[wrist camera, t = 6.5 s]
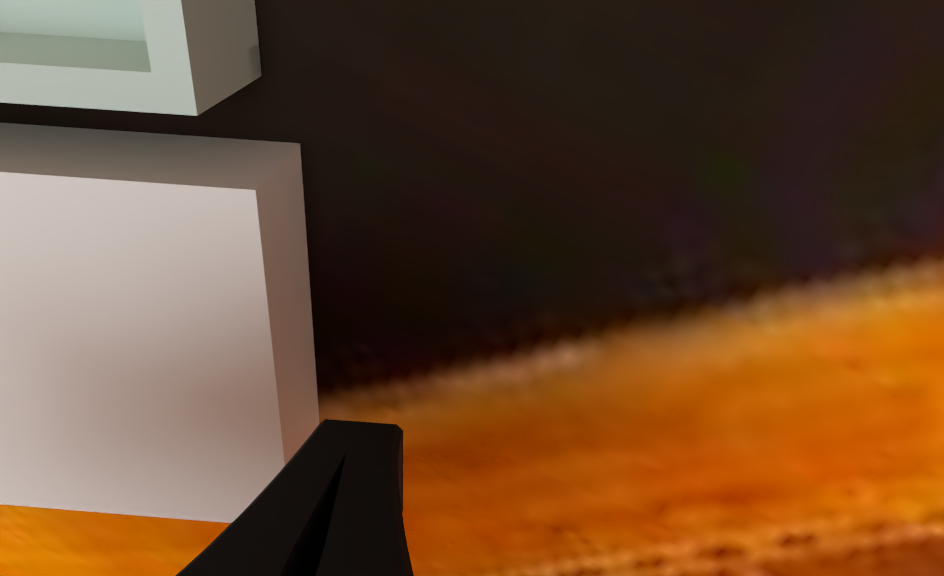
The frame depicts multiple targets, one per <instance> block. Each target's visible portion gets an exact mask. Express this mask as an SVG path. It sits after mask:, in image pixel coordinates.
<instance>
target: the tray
mask: <svg viewBox="0 0 944 576" xmlns="http://www.w3.org/2000/svg"><path fill="white" fill-rule="evenodd" d="M261 76H262V74H261V63H260V53H259V42H258V31H257V21H256V10H255V0H0V102H2V103H17V104H31V105H46V106H61V107H76V108H91V109H105V110H120V111H135V112H150V113H164V114H179V115H194V116H198V115H199V114H201V113H203V112H204V111H206V110H207V109H209V108H211V107H212V106H214V105H216V104H217V103H219V102H220V101H222V100H224V99H225V98H227V97H228V96H230V95H232V94H233V93H235V92H236V91H238V90H240V89H241V88H243V87H245V86H246V85H248V84H249V83H251V82H253V81H254V80H256V79H257V78H259V77H261Z"/></svg>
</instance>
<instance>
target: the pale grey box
mask: <svg viewBox="0 0 944 576" xmlns="http://www.w3.org/2000/svg"><path fill="white" fill-rule="evenodd" d="M318 425H319V409H318V395H317V380H316V366H315V352H314V337H313V323H312V309H311V294H310V280H309V266H308V251H307V237H306V223H305V208H304V194H303V180H302V165H301V151H300V143H287V142H273V141H259V140H244V139H230V138H215V137H201V136H186V135H172V134H157V133H143V132H128V131H114V130H100V129H85V128H71V127H56V126H42V125H27V124H13V123H0V504H5V505H17V506H29V507H41V508H53V509H65V510H78V511H90V512H102V513H114V514H126V515H138V516H151V517H163V518H175V519H187V520H199V521H211V522H224V523H232V522H233V521H234V520H235V519H236V518H237V517H238V516H239V515H240V514H241V513H242V512H243V511H244V510H245V509H246V508H247V507H248V506H249V505H250V504H251V503H252V502H253V501H254V499H255V498H256V497H257V496H258V495H259V494H260V493H261V492H262V491H263V490H264V489H265V487H266V486H267V485H268V484H269V483H270V482H271V481H272V480H273V479H274V478H275V477H276V475H277V474H278V473H279V472H280V471H281V470H282V469H283V467H284V466H285V465H286V464H287V463H288V462H289V460H290V459H291V458H292V457H293V456H294V455H295V453H296V452H297V451H298V450H299V449H300V447H301V446H302V445H303V444H304V442H305V441H306V440H307V439H308V438H309V436H310V435H311V434H312V433H313V431H314V430H315V429H316V427H317V426H318Z"/></svg>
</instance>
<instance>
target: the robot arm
mask: <svg viewBox="0 0 944 576" xmlns="http://www.w3.org/2000/svg"><path fill="white" fill-rule="evenodd" d="M402 511H403V430H402V429H401V428H400V427H399V426H398V425H395V424H382V423H368V422H355V421H342V420H328V419H325V420H324V421H323V422H321V423H320V424H319V425H318V426H317V427H316V429H315V430H314V431H313V433H312V434H311V435H310V436H309V438H308V439H307V440H306V441H305V442H304V444H303V445H302V446H301V447H300V449H299V450H298V451H297V452H296V453H295V455H294V456H293V457H292V458H291V459H290V460H289V462H288V463H287V464H286V465H285V466H284V467H283V469H282V470H281V471H280V472H279V473H278V474H277V475H276V477H275V478H274V479H273V480H272V481H271V482H270V483H269V484H268V485H267V486H266V487H265V489H264V490H263V491H262V492H261V493H260V494H259V495H258V496H257V497H256V498H255V499H254V501H253V502H252V503H251V504H250V505H249V506H248V507H247V508H246V509H245V510H244V511H243V512H242V513H241V514H240V515H239V516H238V517H237V518H236V519H235V520H234V521H233V522H232V523H231V524H230V525H229V526H228V527H227V528H226V529H225V530H224V531H223V532H222V533H221V534H220V535H219V536H218V537H217V538H216V539H215V540H214V541H213V542H212V543H211V544H210V545H209V546H208V547H207V548H206V549H205V550H204V551H202V552H201V553H200V554H199V555H198V556H197V557H196V558H195V559H194V560H193V561H192V562H190V563H189V564H188V565H187V566H186V567H185V568H184V569H183V570H182V571H180V572H179V573H178V574H177V575H176V576H414V575H413V571H412V566H411V562H410V557H409V552H408V547H407V542H406V536H405V531H404V524H403V517H402Z"/></svg>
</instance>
